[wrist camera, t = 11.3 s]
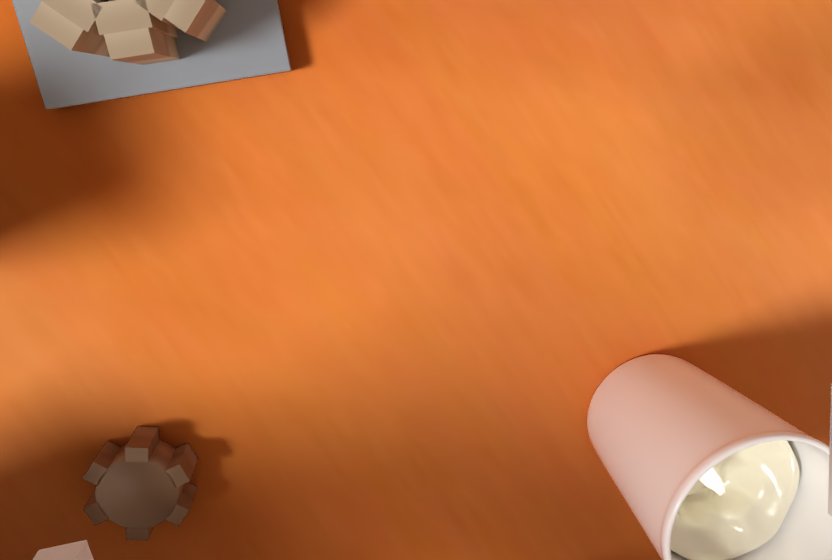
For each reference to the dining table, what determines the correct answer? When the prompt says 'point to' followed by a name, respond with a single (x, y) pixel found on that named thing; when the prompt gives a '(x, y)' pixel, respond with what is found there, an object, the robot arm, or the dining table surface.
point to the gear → (141, 483)
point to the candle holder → (709, 466)
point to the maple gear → (127, 26)
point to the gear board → (198, 65)
